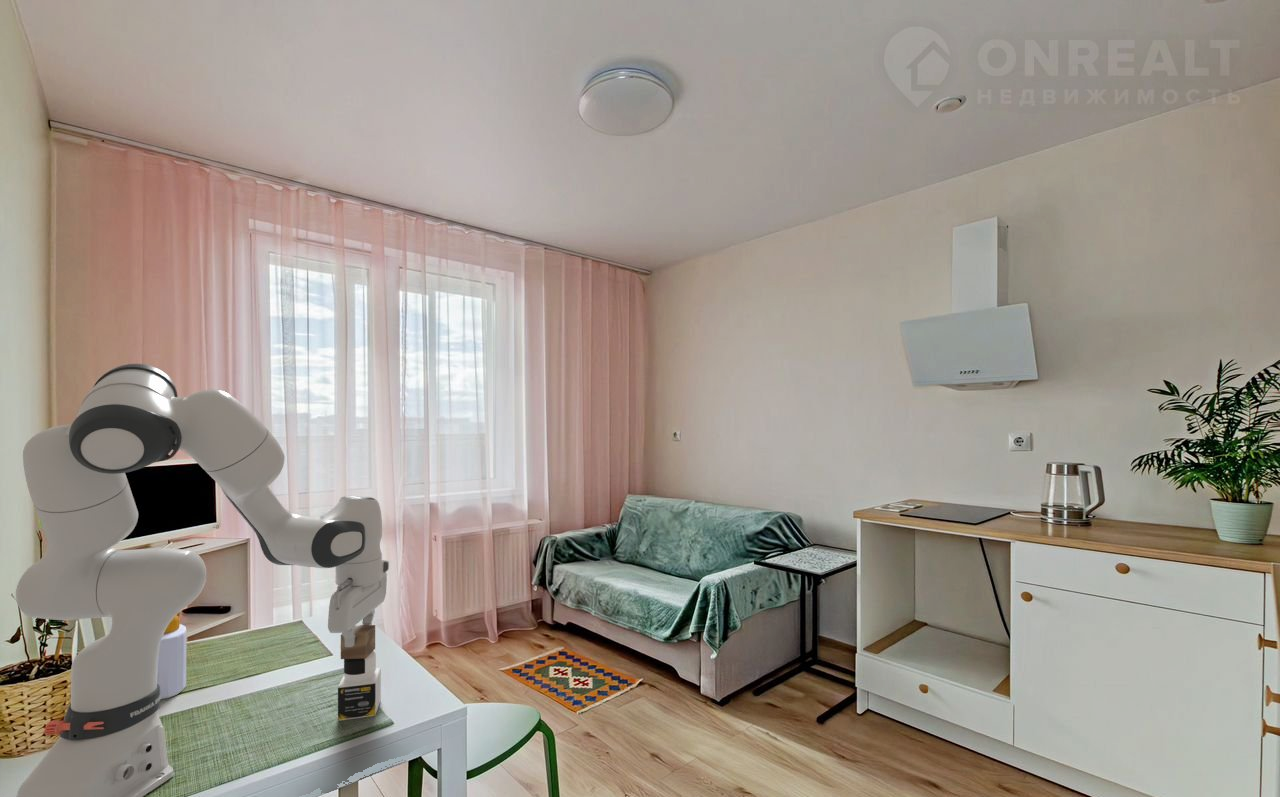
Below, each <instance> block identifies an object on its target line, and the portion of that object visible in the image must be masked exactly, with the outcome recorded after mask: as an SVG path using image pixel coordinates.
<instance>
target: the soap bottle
mask: <svg viewBox="0 0 1280 797" xmlns="http://www.w3.org/2000/svg"><path fill="white" fill-rule="evenodd" d="M187 633H188V632H187V627H186V626H185V625H184V624H183V623H182V624H181V623H180V617H179V616H178V614H177V615H176V616H175V617H174V618H173V619H172V620H171V622H170V623H169V625H168V626H167V628H166V630H165V632H164V634H163V636H162V639H161V642H160V647H159V656H158V668H157V684H159V686H160V693H161V698H160V701H161V700H165V699H170V698H172V697H174V696H177V695H178V694H179V693H182V692H183V691H184V689H185V688H186V686H187V654H188V653H187V648H188V647H187V644H188V643H187V641H188V640H187V638H188V637H187V636H188V634H187Z"/></svg>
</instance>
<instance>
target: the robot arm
mask: <svg viewBox="0 0 1280 797" xmlns="http://www.w3.org/2000/svg"><path fill="white" fill-rule="evenodd" d="M179 450H180V451H182V452H185V453H186V454H187V455H188V456H190V457H191V458H192V459H193V460H194V461H195V462H196V463H197V464H198V465H199V466H200V467H201V468H202V470H203V471H205V473H207V475H209V477H211V479H213V480H214V481H215V483H216V484H217V485H218V486H219V487H220V489H221V490H222V492H223V494H224V495H225V497H226V498H227V500H228V501H229V502H230V504H232V506H233V507H234V509H236V510H237V512H238V513H239V514H240V516H241V517H242V518H243V519H244V520H245V522H246V523H247V524H248V525H249V527H251V529H252V530H253V531H254V533H255V535H256V536H257V539H258V542H259V546H260V548H261V550H262V553H263V555H264V557H265V558H266V559H267V560H268V561H269V562H270V563H272V564H274V565H277V566H299V567H306V568H307V567H308V568H316V569H331V568H334V570H335V577H334V578H335V579H334V580H335V582H334V583H335V584H336V585H337V587H336V591H334V592H333V593H332V594H331V597H330V599H329V606H328V617H327V618H328V619H327V629H328V632H329V633H331V634H343V637H344V639H345V647H353V646H354V645H355V644H356V643H357V641H356V640H357V636H355V634H354V630H355V626H357V624H358V623H360V622H361V621H362V623H361V624H360V625H373V620H374V617H375V613H376V612H375V609H377V608H378V607H379V606H380V605H382V603H384V602H385V599H386V595H387V586H388V585H387V583H388V573H387V572H388V571H389V569H390V561H389V560H385V559H383V553H382V550H381V540H382V537H383V520H382V511H381V506H380V503H379V501H378V500H377V499H376V498H374V497H371V496H358V495H357V496H356V495H345V496H341V497H339V500H338V503H337V504H335V506H334V507H333V508H331V510H329V511H327V512H326V513H325V514H322V515H320V517H319V516H308V515H301V514H297V513H294V512H291V511H289V510H288V509H286V508H285V507H284V506H283V504H282V503H281V501H280V500H279V499H278V498H277V496H276V495H275V493H274V492H273V491H272V489H270V485H271V484H272V483H273V482H274V481H275V480H276V479H277V478H278V477H279V475H280V474H281V472H282V470H283V468H284V464H285V453H284V451H283V449H282V447H281V445H280V443H279V442H278V440H277V439H276V438H275V436H274V435H273V434H272V433H271V432H270V431H269V429H267V427H266V426H265V425H264V424H263V423H262V421H260V420H259V419H258V418H257V416H255V414H254V413H252V411H250V410H249V409H248V408H247V407H246V406H245V405H244V404H242V403H241V402H240V401H239V400H238V399H237V398H235V397H234V396H232V394H229V393H228V392H225V391H224V390H219V389H213V388H212V389H204V390H200V391H196V392H193V393H191V394H189V395H188V396H179V397H178V390H177V387H176V385H175V383H174V382H173V379H171V376H169V375H168V374H167V373H166V372H164V371H163V370H161V369H159V368H157V367H155V366H152V365H149V364H143V363H128V364H123V365H119V366H117V367H114V368H112V369H111V370H109V371H107V372H105V373H104V374H102V376H100V378H98V380H96V382H95V384H94V385H93V386H92V388H91V389H90V391H88V393H87V395H86V396H85V397H84V399H83V400H82V402H81V404H80V408H79V410H78V413H77V415H76V417H75V419H74V420H73V421H72V423H69V424H61V425H57V426H52V427H50V428H47V429H44V430H42V431H40V432H38V433H36V434H35V435H34V436H32V437H31V438H30V439H29V440H28V441H27V442H26V444H25V446H24V448H23V449H22V463H23V469H24V470H23V472H24V476H25V481H26V485H27V489H28V494H29V495H30V498H31V502H32V503H33V506H34V508H35V510H36V513H37V516H38V518H39V520H40V524H41V526H42V530H43V532H44V536H45V539H46V540H45V541H46V548H45V549H46V551H45V553H44V555H43V556H42V557H41V558H40V559H39V560H37V561H36V562H34V563H33V564H32V565H30V566H29V567H28V568H27V569H26V570H25V571H24V573H23V574H22V575H21V577H20V579H19V580H18V582H17V586H16V589H15V600H16V604H17V606H18V607H19V610H20V611H21V612H22V613H23V614H24V615H25V616H27V617H29V618H35V619H43V620H53V621H54V620H55V621H73V620H74V621H75V620H84V619H97V618H98V619H99V618H111V622H112V623H111V629H110V631H109V633H108V634H106V635H103V636H102V637H100V638H98V639H96V640H95V641H93V642H91V643H89V644H88V645H86V646H84V647H83V649H81V650H80V651H79V653H78V654H77V655H76V656H75V658H74V660H73V662H72V664H71V667H70V668H71V669H70V670H71V671H70V673H71V674H70V704H69V706H68V707H67V709H66V712H65V715H64V718H63V720H51V721H49V722H47V724H46V725H45V727H44V730H43V732H44V735H46V736H52V735H59V738H58V739H57V740H56V742H55V743H54V744H52V747H51V748H50V749H49V750H48V752H47V753H46V754H45V755H44V756H43V757H42V759H41V760H40V762H39V763H38V764H37V765H36V766H35V768H34V769H33V770H32V771H31V773H30V774H29V775H28V776H27V777H26V778H25V780H24V781H23V782H22V784H20V787H18V790H17V793H16V795H15V797H144V796H146V795H147V794H148V793H150V792H152V791H153V790H155V789H156V788H158V787H159V786H161V785H162V784H164V783H166V782H167V781H168V780H170V779H171V778H173V776H174V774H175V772H174V768H173V767H172V766H171V765H169V760H168V752H167V751H168V750H167V740H166V735H165V734H166V733H165V728H164V726H163V722H162V721H161V718H160V716H159V711H158V710H159V709H160V708H161V700H160V698H161V693H160V686H159V684H157V668H158V656H159V647H160V642H161V639H162V636H163V634H164V632H165V630H166V628H167V626H168V625H169V623H170V622H171V620H172V619H173V618H174V617H175V616H176V615H177V616H178V614H179V613H180V612H181V611H183V610H184V609H185V608H186V607H188V606H189V605H190V604H191V603H193V602H194V601H195V600H196V599H197V598H199V595H200V594H201V593H202V591H203V589H204V586H206V582H207V575H208V574H207V573H208V572H207V567H206V563H205V561H204V560H203V558H202V557H201V556H200V555H199V553H198V552H196V551H193V550H188V549H181V548H171V547H170V548H169V547H155V548H154V547H153V548H139V549H137V548H136V549H135V548H134V549H117V548H114V546H115V545H117V544H118V543H120V542H121V541H123V540H124V539H126V538H127V537H128V536H129V535H131V533H132V532H133V531H134V529H135V527H136V526H137V523H138V519H139V511H138V508H137V505H136V501H135V498H134V496H133V493H132V492H133V491H132V490H131V487H130V483H129V480H128V478H127V475H126V473H130V472H133V471H137V470H141V469H144V468H145V467H148V466H150V465H153V464H155V463H159V462H163V461H168V460H170V459H172V458H173V457H175V456H176V454H177V453H178V451H179ZM170 452H171V453H170Z"/></svg>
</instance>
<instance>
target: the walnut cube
mask: <svg viewBox="0 0 1280 797" xmlns="http://www.w3.org/2000/svg"><path fill="white" fill-rule="evenodd" d="M354 634H355V636H357V640H356V641H357V643H356V644H355V645H354V646H353V647H345V639H344V637H343V634H342V633H340V660H344V659H364V658H366V657H367V656H368V655H369V654H370V653H371V652H372V651H374V650H376V624H372V625H361V624H360V625H355V630H354Z"/></svg>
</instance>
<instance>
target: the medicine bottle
mask: <svg viewBox="0 0 1280 797" xmlns="http://www.w3.org/2000/svg"><path fill="white" fill-rule="evenodd" d="M376 663H377V654H376V652H375V651H374V650H373V651H372V652H371V653H370V654H369V655H368V656H367V657H366V658H364V659H343V676H342V678H341V680H340V682H339V684H338V686H337V721H338V722H341V721H348V720H355V719H363V718H370V717H375V716H376V715H377V711H378V709H379V705H380V702H381V701H382V699H381V698H382V688H381V687H382V681H381V680H382V675H381V674H382V670H381V669H382V668H381V667H376V666H377V664H376Z"/></svg>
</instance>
